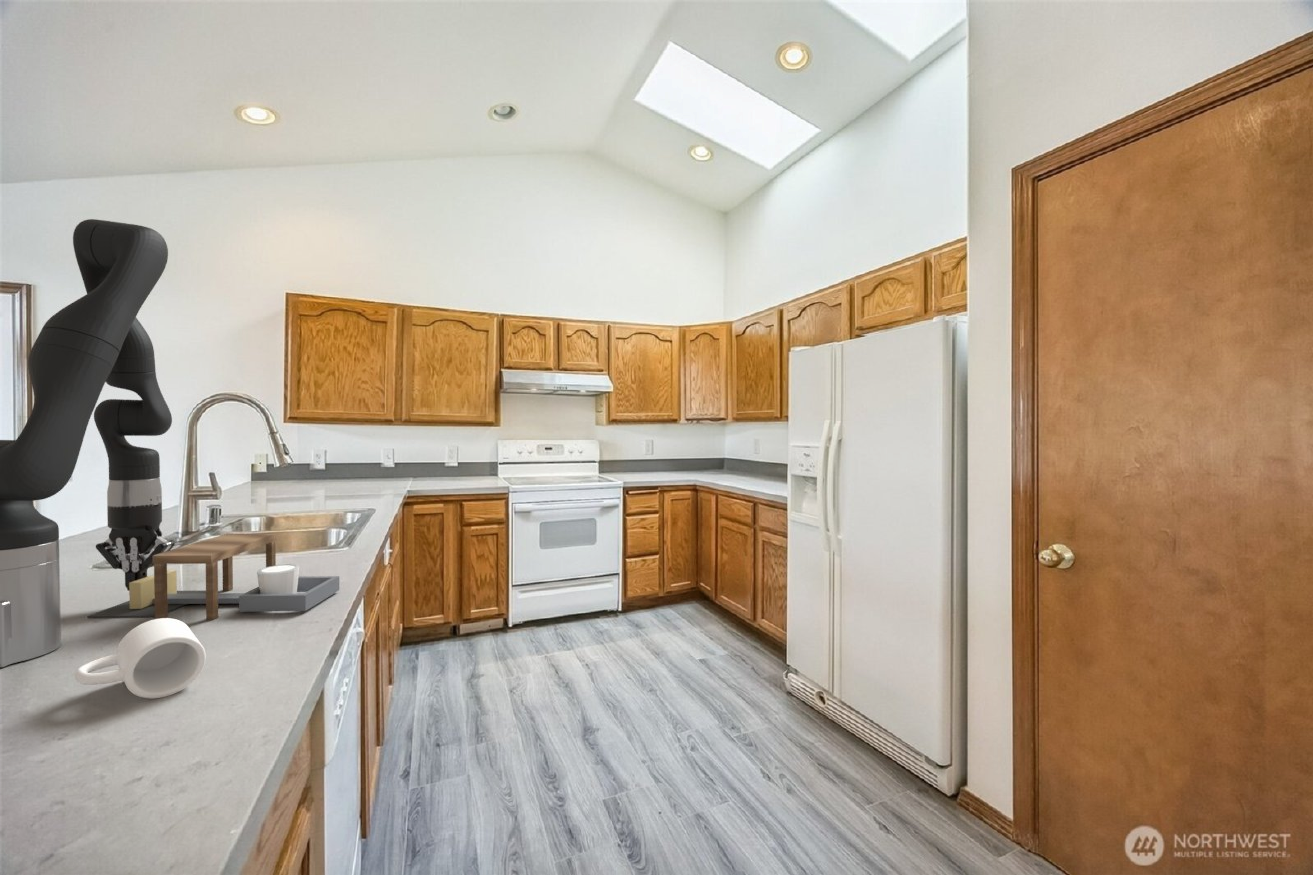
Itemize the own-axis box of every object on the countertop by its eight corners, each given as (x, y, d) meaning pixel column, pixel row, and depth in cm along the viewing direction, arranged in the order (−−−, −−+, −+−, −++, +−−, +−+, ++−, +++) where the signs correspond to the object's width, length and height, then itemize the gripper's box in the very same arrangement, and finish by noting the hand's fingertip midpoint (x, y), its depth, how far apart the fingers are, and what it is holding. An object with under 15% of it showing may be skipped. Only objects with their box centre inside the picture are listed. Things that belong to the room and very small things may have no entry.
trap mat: (157, 617, 96) (157, 615, 96) (87, 617, 95) (87, 616, 95) (215, 591, 110) (215, 590, 110) (155, 592, 109) (155, 590, 109)
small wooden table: (211, 620, 94) (211, 555, 94) (153, 621, 94) (152, 555, 93) (276, 588, 112) (276, 533, 112) (228, 588, 112) (227, 533, 111)
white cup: (308, 598, 107) (307, 564, 107) (279, 610, 100) (279, 574, 100) (278, 596, 108) (277, 562, 107) (248, 607, 101) (247, 572, 101)
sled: (305, 610, 99) (305, 584, 98) (119, 612, 96) (119, 586, 96) (339, 590, 110) (339, 567, 110) (174, 591, 108) (174, 567, 108)
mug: (192, 663, 79) (191, 611, 78) (206, 685, 72) (205, 629, 72) (73, 694, 69) (72, 635, 69) (77, 723, 63) (76, 658, 63)
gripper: (78, 504, 97) (80, 596, 97) (154, 505, 98) (155, 595, 98) (117, 498, 104) (118, 583, 105) (187, 499, 105) (188, 583, 106)
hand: (136, 589), depth 102 cm, fingers closed
